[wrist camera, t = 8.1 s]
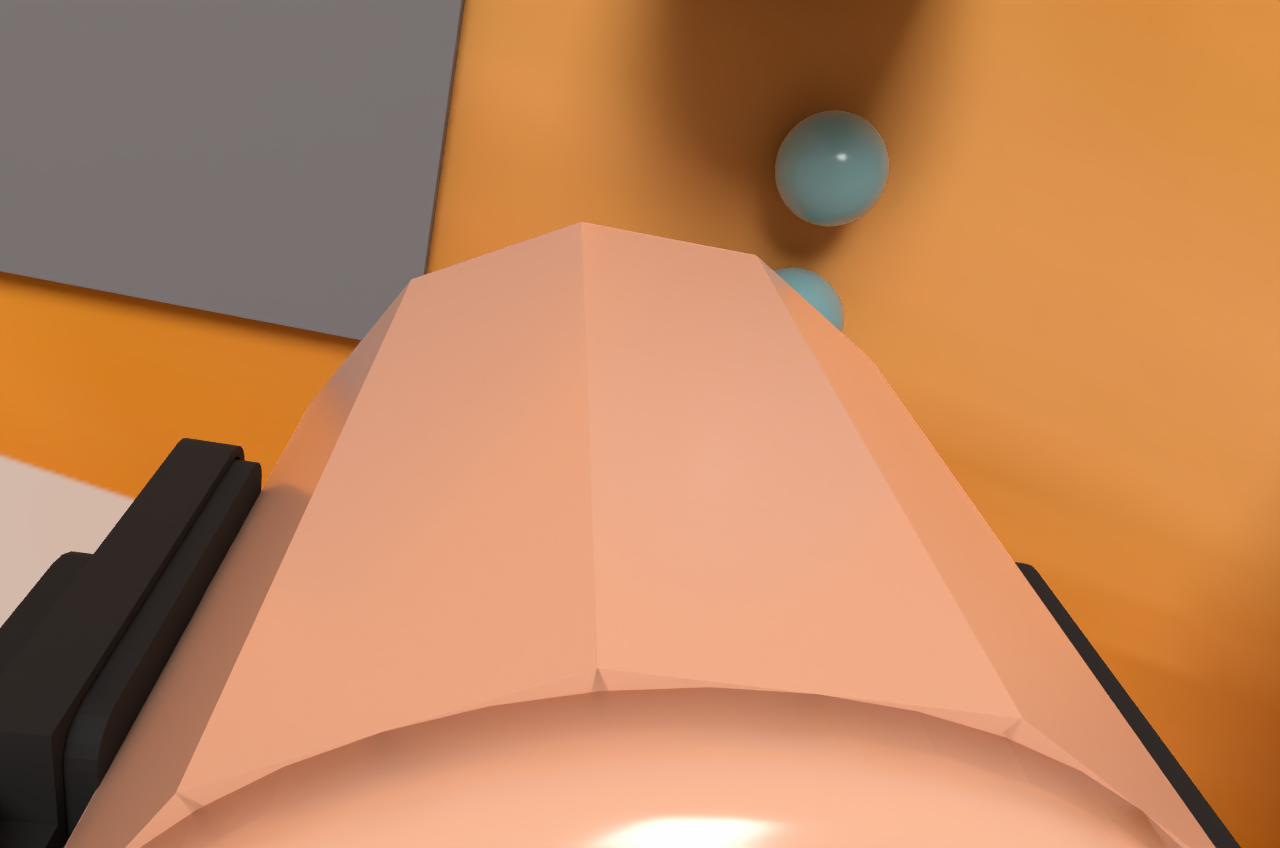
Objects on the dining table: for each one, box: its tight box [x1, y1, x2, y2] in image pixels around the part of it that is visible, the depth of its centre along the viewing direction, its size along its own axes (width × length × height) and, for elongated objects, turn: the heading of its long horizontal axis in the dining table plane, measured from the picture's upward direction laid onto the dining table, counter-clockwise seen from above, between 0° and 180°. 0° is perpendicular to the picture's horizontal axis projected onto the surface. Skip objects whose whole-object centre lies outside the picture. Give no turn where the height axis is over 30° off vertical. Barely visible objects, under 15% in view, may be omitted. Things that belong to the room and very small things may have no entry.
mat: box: [0, 0, 465, 340], centre depth 24 cm, size 14×16×1 cm
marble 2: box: [773, 267, 844, 333], centre depth 27 cm, size 3×3×3 cm
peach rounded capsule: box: [64, 222, 1215, 848], centre depth 9 cm, size 8×8×8 cm
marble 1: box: [775, 110, 889, 226], centre depth 25 cm, size 3×3×3 cm
